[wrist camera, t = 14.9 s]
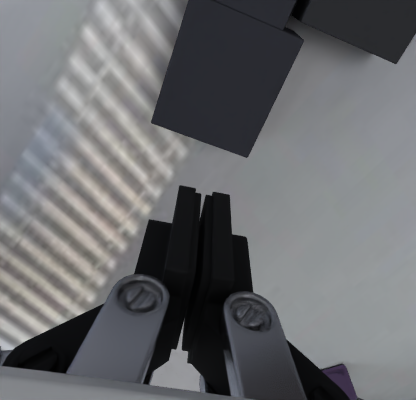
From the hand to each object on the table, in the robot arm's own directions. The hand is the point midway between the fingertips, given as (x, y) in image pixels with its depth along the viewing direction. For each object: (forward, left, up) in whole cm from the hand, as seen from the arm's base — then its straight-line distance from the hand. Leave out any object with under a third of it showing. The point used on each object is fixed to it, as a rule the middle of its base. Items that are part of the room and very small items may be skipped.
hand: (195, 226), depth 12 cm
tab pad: (0, +4, -13) cm, 14 cm away
